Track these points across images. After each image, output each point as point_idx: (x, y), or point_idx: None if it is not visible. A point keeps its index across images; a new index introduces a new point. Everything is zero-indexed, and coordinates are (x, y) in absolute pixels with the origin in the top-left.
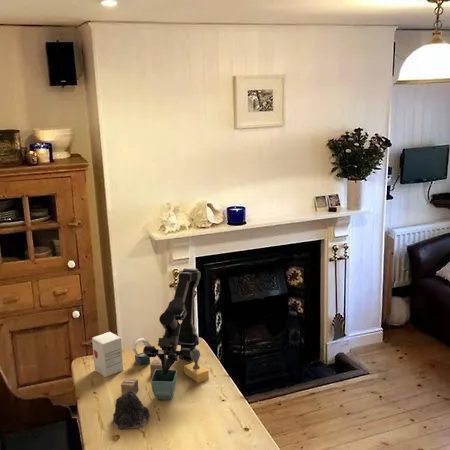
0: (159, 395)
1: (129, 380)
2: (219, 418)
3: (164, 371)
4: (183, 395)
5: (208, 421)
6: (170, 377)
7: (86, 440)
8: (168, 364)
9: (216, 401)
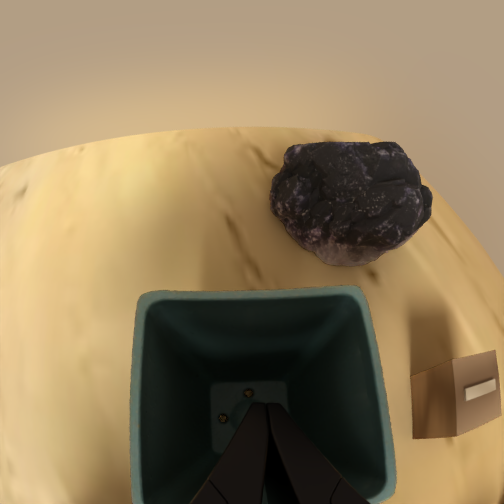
0: (273, 354)
1: (483, 402)
2: (21, 243)
3: (265, 417)
4: None
5: (52, 225)
6: None
7: None
8: (208, 491)
9: (6, 354)
